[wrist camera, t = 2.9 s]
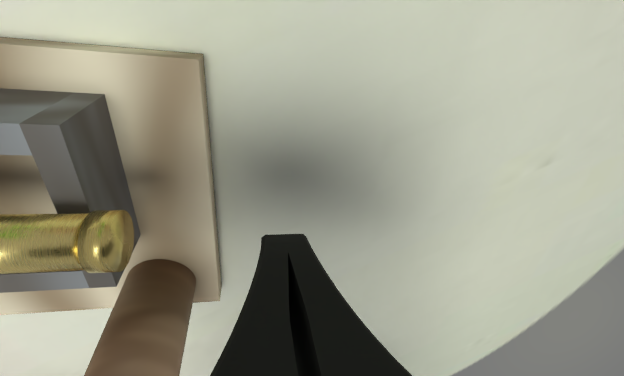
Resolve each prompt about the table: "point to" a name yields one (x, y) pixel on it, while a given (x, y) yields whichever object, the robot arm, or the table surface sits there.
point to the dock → (107, 160)
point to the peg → (147, 322)
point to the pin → (66, 242)
